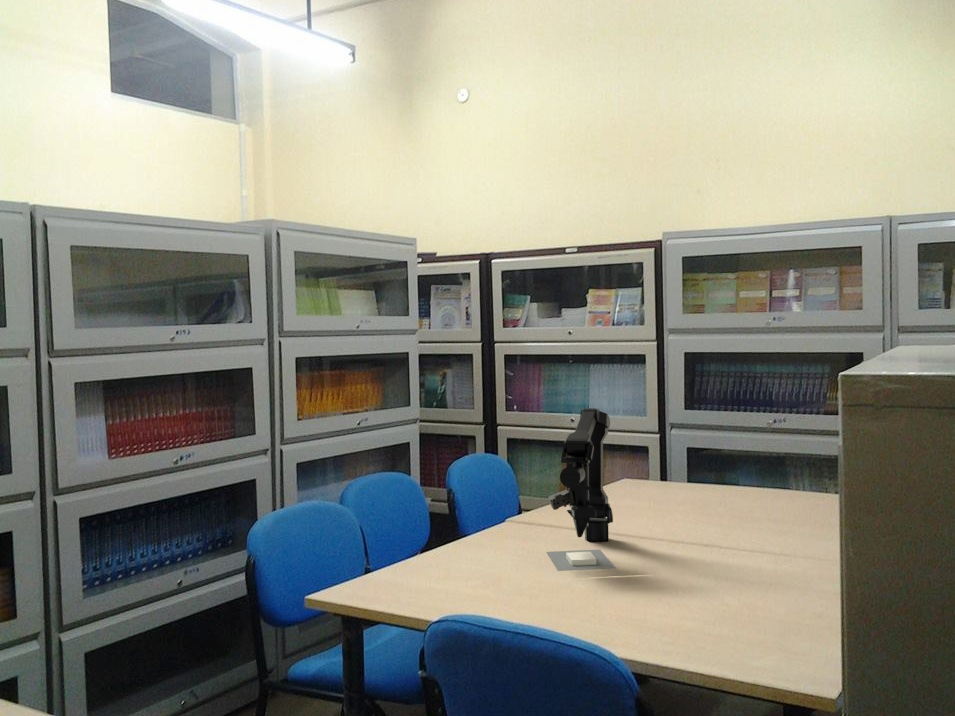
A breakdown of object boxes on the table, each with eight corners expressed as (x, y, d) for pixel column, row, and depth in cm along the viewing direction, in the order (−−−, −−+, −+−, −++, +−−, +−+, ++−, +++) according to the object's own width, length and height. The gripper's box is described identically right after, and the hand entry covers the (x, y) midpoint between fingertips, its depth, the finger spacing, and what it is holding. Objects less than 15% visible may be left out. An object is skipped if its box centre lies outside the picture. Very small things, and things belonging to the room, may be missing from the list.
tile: (590, 551, 246) (596, 559, 238) (590, 557, 246) (596, 564, 238) (566, 552, 246) (571, 560, 238) (566, 558, 246) (571, 565, 238)
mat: (599, 550, 254) (599, 549, 254) (616, 569, 234) (616, 567, 234) (546, 553, 253) (546, 551, 253) (557, 572, 233) (557, 570, 233)
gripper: (544, 477, 251) (546, 530, 252) (555, 488, 233) (556, 546, 233) (582, 475, 252) (583, 529, 253) (596, 487, 233) (597, 544, 234)
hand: (579, 536), depth 243 cm, fingers closed
